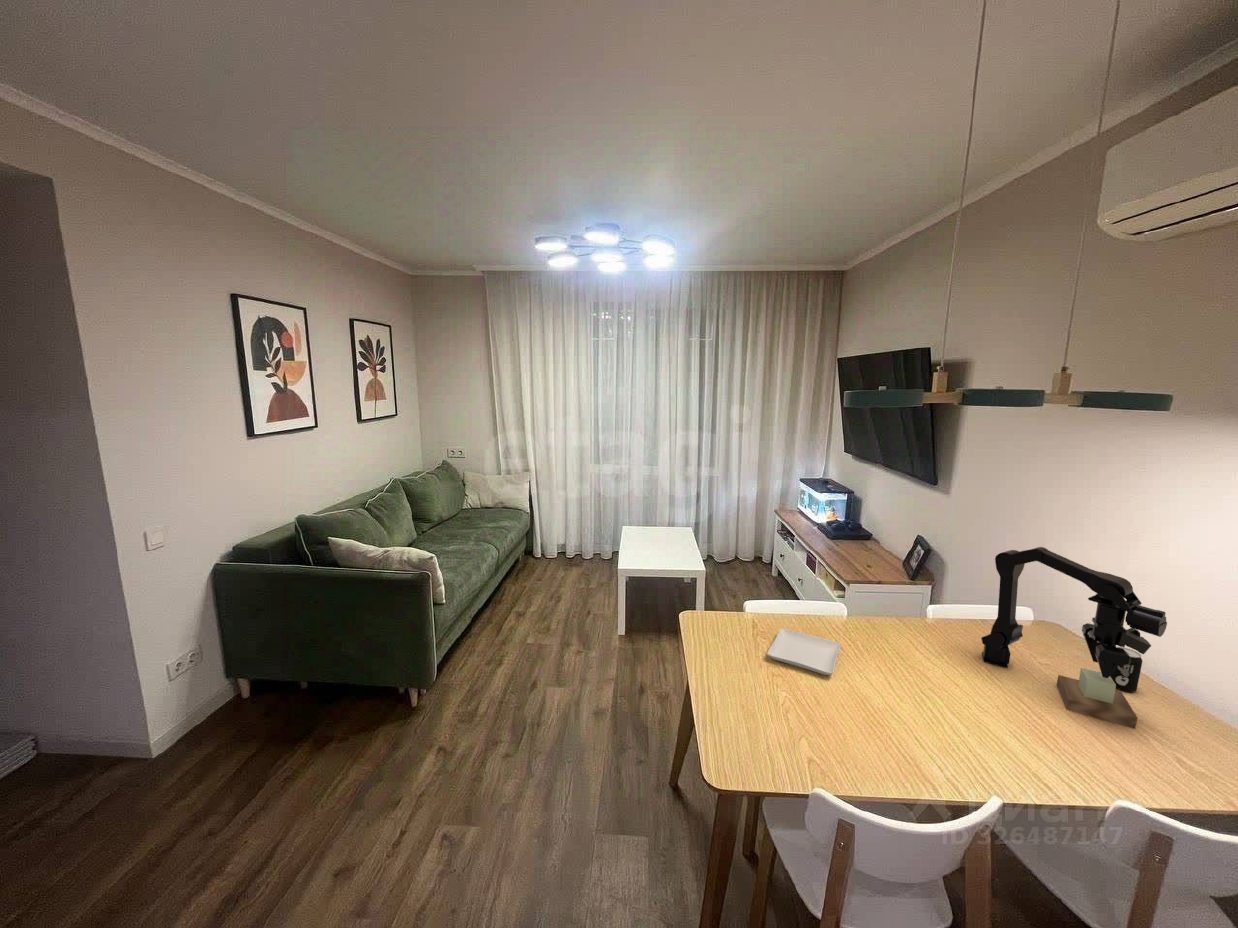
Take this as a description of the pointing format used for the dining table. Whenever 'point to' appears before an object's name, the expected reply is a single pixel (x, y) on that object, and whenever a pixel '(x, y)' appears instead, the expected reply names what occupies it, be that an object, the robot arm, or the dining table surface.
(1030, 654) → the dining table surface
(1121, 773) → the dining table surface
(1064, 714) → the dining table surface
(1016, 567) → the robot arm
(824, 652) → the salad plate
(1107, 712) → the walnut box
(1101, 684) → the sage cube
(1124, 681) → the beverage can
